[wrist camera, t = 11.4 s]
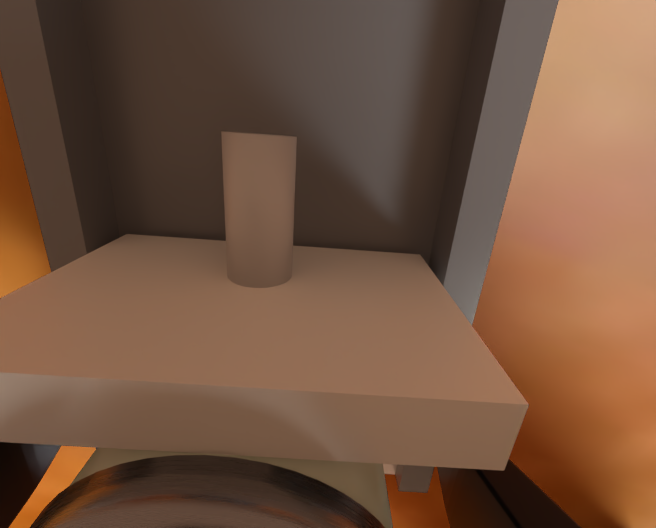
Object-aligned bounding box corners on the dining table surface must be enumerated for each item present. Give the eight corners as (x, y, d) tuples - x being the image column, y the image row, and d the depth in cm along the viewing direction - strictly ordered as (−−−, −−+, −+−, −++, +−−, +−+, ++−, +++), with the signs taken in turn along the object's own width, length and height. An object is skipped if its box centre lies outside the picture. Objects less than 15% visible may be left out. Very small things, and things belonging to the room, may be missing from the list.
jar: (360, 433, 12) (392, 766, 6) (191, 426, 12) (36, 756, 6) (377, 280, 10) (463, 550, 4) (171, 270, 10) (-122, 527, 4)
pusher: (413, 292, 10) (504, 470, 5) (132, 273, 10) (-93, 436, 5) (440, 145, 8) (616, 171, 3) (109, 120, 8) (-268, 103, 3)
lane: (414, 442, 13) (452, 588, 9) (134, 426, 13) (40, 568, 9) (562, -214, 7) (962, -809, 2) (5, -269, 7) (-614, -1031, 2)
